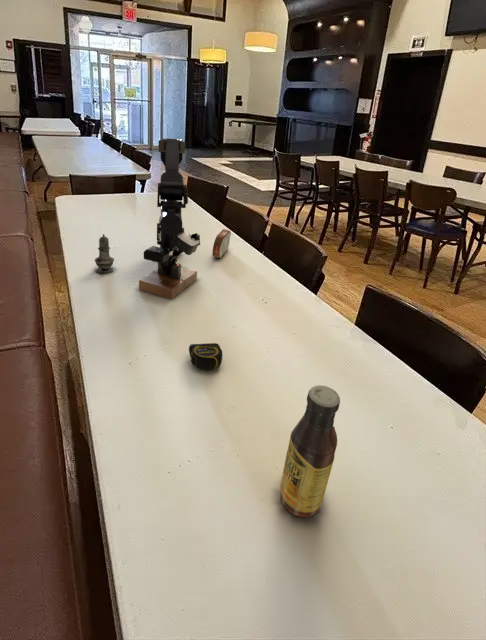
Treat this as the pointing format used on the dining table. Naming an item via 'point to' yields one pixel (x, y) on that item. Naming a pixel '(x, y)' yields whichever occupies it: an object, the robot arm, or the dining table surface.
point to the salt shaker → (104, 257)
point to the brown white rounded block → (221, 243)
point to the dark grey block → (171, 270)
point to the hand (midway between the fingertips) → (169, 274)
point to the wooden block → (167, 283)
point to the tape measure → (205, 356)
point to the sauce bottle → (310, 454)
